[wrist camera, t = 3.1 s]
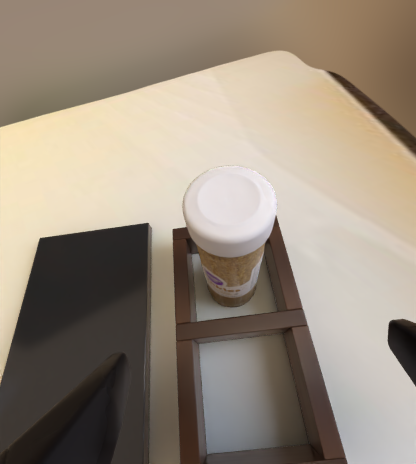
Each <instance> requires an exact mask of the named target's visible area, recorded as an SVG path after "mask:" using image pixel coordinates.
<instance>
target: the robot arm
mask: <svg viewBox="0 0 416 464" xmlns="http://www.w3.org/2000/svg"><path fill="white" fill-rule="evenodd" d="M388 345H389V347H390V349H391V351H392V352H393V354H394V355H395V356H396V358H397V359H398V361H399V362H400V364H401V365H402V367H403V368H404V370H405V371H406V373H407V374H408V376H409V377H410V379H411V380H412V382H413V383H414V385H415V386H416V323H413V322H411V321H408V320H405V319H397V320H391V321H390V322H389V328H388ZM130 381H131V369H130V366H129V362H128V359H127V355H126V354H125V353H124V352H122V353H114V354H112V355H111V356H110V357H109V358H107V359H106V360H105V361H104V362H103V363H102V364H101V365H100V366H98V367H97V368H96V369H95V370H94V371H93V372H92V373H91V374H89V375H88V376H87V377H86V378H85V379H84V380H83V381H82V382H80V383H79V384H78V385H77V386H76V387H75V388H74V389H73V390H71V391H70V392H69V393H68V394H67V395H66V396H65V397H64V398H62V399H61V400H60V401H59V402H58V403H57V404H56V405H55V406H53V407H52V408H51V409H50V410H49V411H48V412H47V413H46V414H44V415H43V416H42V417H41V418H40V419H39V420H38V421H37V422H35V423H34V424H33V425H32V426H31V427H30V428H29V429H27V430H26V431H25V432H24V433H23V434H22V435H21V436H20V437H18V438H17V439H16V440H15V441H14V442H13V443H12V444H11V445H10V446H9V447H8V449H5V450H4V451H3V452H1V453H0V464H111V462H112V458H113V455H114V451H115V448H116V445H117V441H118V438H119V434H120V430H121V426H122V422H123V417H124V412H125V407H126V402H127V397H128V391H129V386H130Z"/></svg>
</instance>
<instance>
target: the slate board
mask: <svg viewBox="0 0 416 464" xmlns="http://www.w3.org/2000/svg"><path fill="white" fill-rule="evenodd" d="M151 245H152V228H151V226H150V225H149V223H144V224H137V225H130V226H123V227H116V228H108V229H101V230H94V231H87V232H80V233H73V234H66V235H59V236H52V237H45V238H40V240H39V243H38V247H37V251H36V254H35V258H34V262H33V266H32V269H31V273H30V277H29V280H28V284H27V288H26V291H25V295H24V299H23V303H22V306H21V310H20V314H19V317H18V321H17V325H16V329H15V332H14V336H13V340H12V343H11V347H10V351H9V354H8V358H7V362H6V366H5V369H4V373H3V377H2V380H1V384H0V453H1V452H3V451H4V450H5V449H8V447H9V446H10V445H11V444H12V443H13V442H14V441H15V440H16V439H17V438H18V437H20V436H21V435H22V434H23V433H24V432H25V431H26V430H27V429H29V428H30V427H31V426H32V425H33V424H34V423H35V422H37V421H38V420H39V419H40V418H41V417H42V416H43V415H44V414H46V413H47V412H48V411H49V410H50V409H51V408H52V407H53V406H55V405H56V404H57V403H58V402H59V401H60V400H61V399H62V398H64V397H65V396H66V395H67V394H68V393H69V392H70V391H71V390H73V389H74V388H75V387H76V386H77V385H78V384H79V383H80V382H82V381H83V380H84V379H85V378H86V377H87V376H88V375H89V374H91V373H92V372H93V371H94V370H95V369H96V368H97V367H98V366H100V365H101V364H102V363H103V362H104V361H105V360H106V359H107V358H109V357H110V356H111V355H112V354H114V353H122V352H124V353H125V354H126V355H127V359H128V362H129V366H130V369H131V381H130V386H129V391H128V397H127V402H126V407H125V412H124V417H123V422H122V426H121V430H120V434H119V438H118V441H117V445H116V448H115V451H114V455H113V458H112V462H111V464H148V455H149V385H150V315H151Z"/></svg>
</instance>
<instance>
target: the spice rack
mask: <svg viewBox="0 0 416 464" xmlns="http://www.w3.org/2000/svg"><path fill="white" fill-rule="evenodd" d="M195 253H199V252H198V248H197V245H196V243H195V242H194V241H193V239H192V238H191V236H190V234H189V231H188V229H187V227H185V228H177V229H173V259H174V288H175V317H176V341H177V342H176V349H177V378H178V407H179V437H180V464H347V460H346V458H345V453H344V450H343V446H342V443H341V439H340V436H339V432H338V429H337V425H336V422H335V418H334V415H333V411H332V408H331V404H330V401H329V397H328V394H327V390H326V387H325V383H324V380H323V376H322V373H321V369H320V366H319V362H318V359H317V355H316V352H315V348H314V345H313V341H312V338H311V334H310V331H309V327H308V326H307V321H306V318H305V314H304V311H303V309H302V308H303V307H302V304H301V300H300V297H299V293H298V290H297V286H296V283H295V279H294V276H293V272H292V269H291V265H290V262H289V258H288V255H287V251H286V248H285V244H284V241H283V237H282V234H281V230H280V227H279V223H278V220H277V216H276V217H275V221H274V225H273V228H272V231H271V234H270V236H269V238H268V239H267V240H266V242H265V245H264V253H265V258H266V262H267V266H268V270H269V275H270V279H271V283H272V287H273V292H274V296H275V300H276V304H277V308H278V312H271V313H263V314H255V315H247V316H239V317H231V318H223V319H215V320H207V321H199V322H197V317H196V303H195V290H194V277H193V263H192V254H195ZM282 333H284V339H285V343H286V347H287V351H288V355H289V360H290V364H291V368H292V372H293V377H294V381H295V385H296V389H297V394H298V398H299V402H300V406H301V411H302V415H303V419H304V423H305V428H306V432H307V436H308V440H309V444H304V445H294V446H285V447H275V448H266V449H256V450H246V451H237V452H227V453H217V454H208V455H207V449H206V436H205V423H204V409H203V396H202V383H201V370H200V356H199V344H200V343H208V342H216V341H224V340H233V339H241V338H249V337H257V336H266V335H274V334H282Z"/></svg>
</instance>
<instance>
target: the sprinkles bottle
mask: <svg viewBox="0 0 416 464" xmlns="http://www.w3.org/2000/svg"><path fill="white" fill-rule="evenodd" d="M182 208H183V214H184V218H185V222H186V226H187V229H188V231H189V234H190V236H191V238H192V239H193V241H194V242H195V243H196V245H197V248H198V252H199V254H200V258H201V264H202V268H203V271H204V274H205V278H206V281H207V285H208V290H209V292H210V294H211V296H212V297H213V299H214V300H215V301H216V302H218V303H219V304H221V305H224V306H227V307H238V306H241V305H243V304H245V303H246V302H248V301H249V300H250V299H251V297H252V296H253V295H254V291H255V289H256V281H257V278H258V274H259V269H260V265H261V261H262V257H263V254H264V245H265V242H266V240H267V239H268V238H269V236H270V234H271V231H272V228H273V225H274V221H275V217H276V211H277V199H276V194H275V192H274V190H273V188H272V186H271V184H270V183H269V182H268V181H267V180H266V179H265V178H264V177H263V176H262V175H260V174H259V173H257V172H256V171H254V170H251V169H249V168H245V167H241V166H221V167H216V168H213V169H210V170H208V171H206V172H204V173H202V174H201V175H199V176H198V177H197V178H196V179H194V180H193V182H192V183H191V184H190V185H189V187H188V188H187V190H186V192H185V195H184V198H183V207H182Z"/></svg>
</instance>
